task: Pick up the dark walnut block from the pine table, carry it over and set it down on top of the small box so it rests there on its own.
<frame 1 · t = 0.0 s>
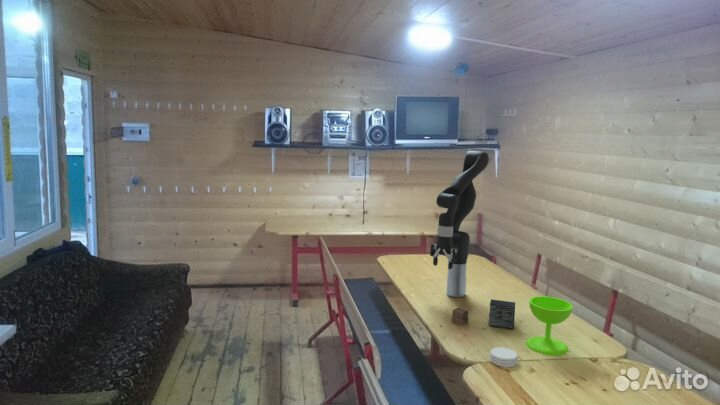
hand: (442, 267, 242), 17 cm above the table, tool pointing down, fingers open, 8 cm apart
walnut block: (460, 322, 218), on the table
white short cylinder: (503, 362, 183), on the table
wineglass: (546, 347, 196), on the table
small box: (501, 325, 216), on the table
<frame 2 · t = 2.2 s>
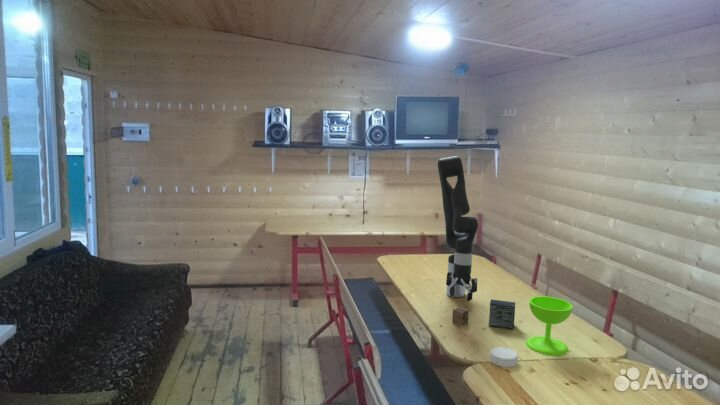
hand: (460, 298, 216), 11 cm above the table, tool pointing down, fingers open, 8 cm apart
nothing on the table moved.
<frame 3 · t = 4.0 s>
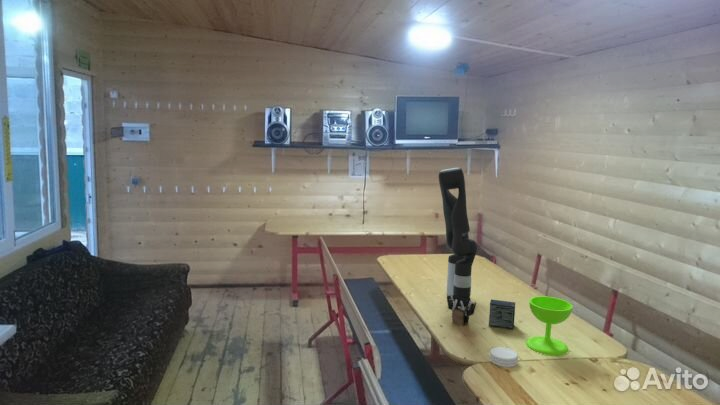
hand: (460, 321, 218), 1 cm above the table, tool pointing down, fingers closed on walnut block, 5 cm apart
walnut block: (460, 322, 218), on the table, touching gripper
everything else where it was.
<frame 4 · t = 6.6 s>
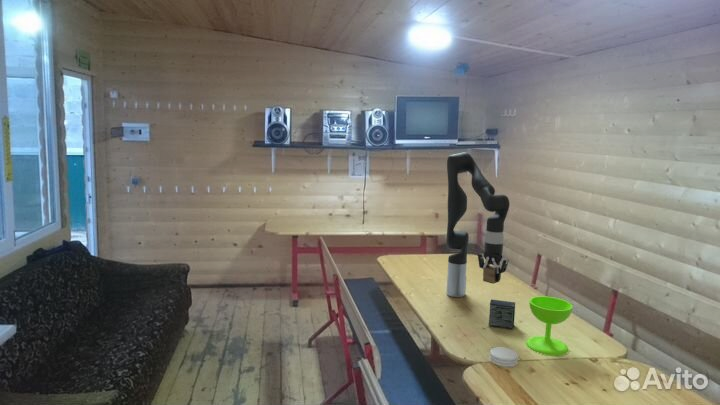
hand: (491, 279, 213), 21 cm above the table, tool pointing down, fingers closed on walnut block, 5 cm apart
walnut block: (491, 281, 213), point 20 cm above the table, touching gripper
everything else where it was.
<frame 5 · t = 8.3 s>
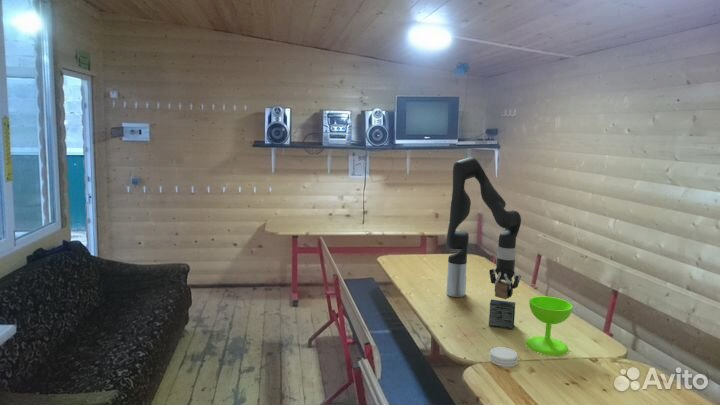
hand: (503, 295, 214), 14 cm above the table, tool pointing down, fingers closed on walnut block, 5 cm apart
walnut block: (503, 296, 214), point 13 cm above the table, touching gripper
everything else where it was.
when the fingers open (12 cm above the table, at t = 9.5 s): walnut block drops 1 cm, resting on small box.
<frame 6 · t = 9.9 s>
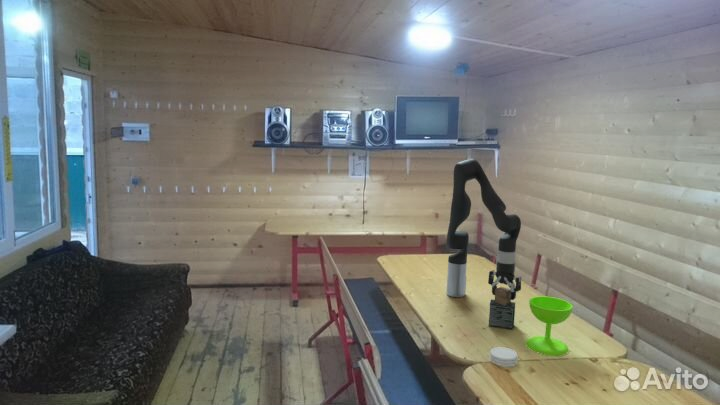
hand: (503, 297, 214), 13 cm above the table, tool pointing down, fingers open, 8 cm apart
walnut block: (502, 302, 215), point 10 cm above the table, touching small box
small box: (501, 325, 216), on the table, touching walnut block
everything else where it was.
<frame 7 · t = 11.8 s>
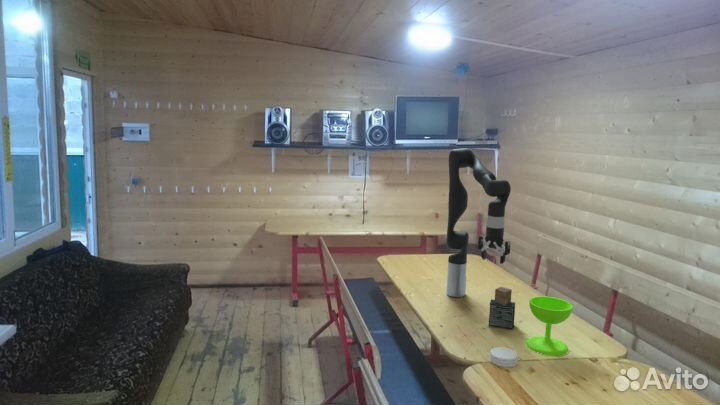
hand: (492, 261, 219), 27 cm above the table, tool pointing down, fingers open, 8 cm apart
nothing on the table moved.
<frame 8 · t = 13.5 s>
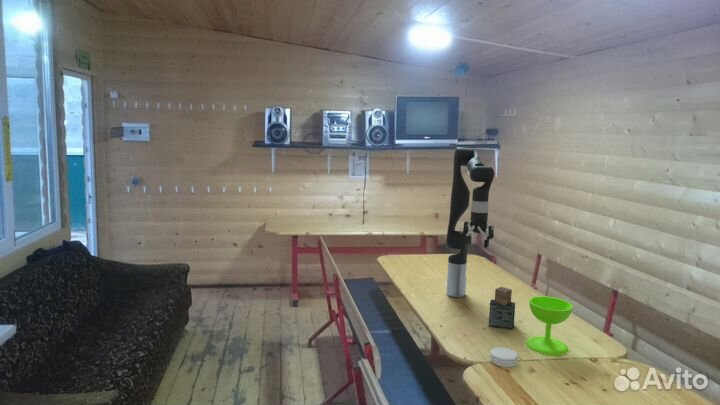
hand: (477, 245, 224), 32 cm above the table, tool pointing down, fingers open, 8 cm apart
nothing on the table moved.
at the end: walnut block inside the target area on the small box (0.1 cm from its centre), point 10.7 cm above the small box's base; the gripper is holding nothing; small box tilted 0° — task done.
